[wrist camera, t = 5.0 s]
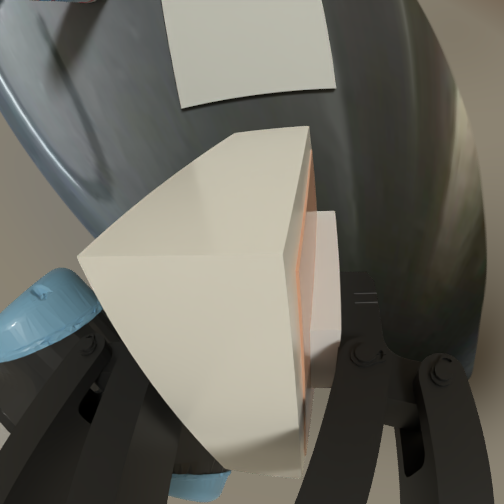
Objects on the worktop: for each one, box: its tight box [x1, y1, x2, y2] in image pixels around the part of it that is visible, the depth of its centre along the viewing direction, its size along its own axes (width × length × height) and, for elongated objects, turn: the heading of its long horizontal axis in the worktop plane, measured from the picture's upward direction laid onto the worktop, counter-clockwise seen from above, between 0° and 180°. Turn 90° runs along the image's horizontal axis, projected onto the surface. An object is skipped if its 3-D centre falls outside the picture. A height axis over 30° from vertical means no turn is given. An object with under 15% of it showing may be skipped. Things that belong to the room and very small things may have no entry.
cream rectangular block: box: [77, 126, 317, 479], centre depth 10 cm, size 10×3×9 cm, turn 9°
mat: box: [162, 0, 336, 109], centre depth 17 cm, size 16×13×1 cm
